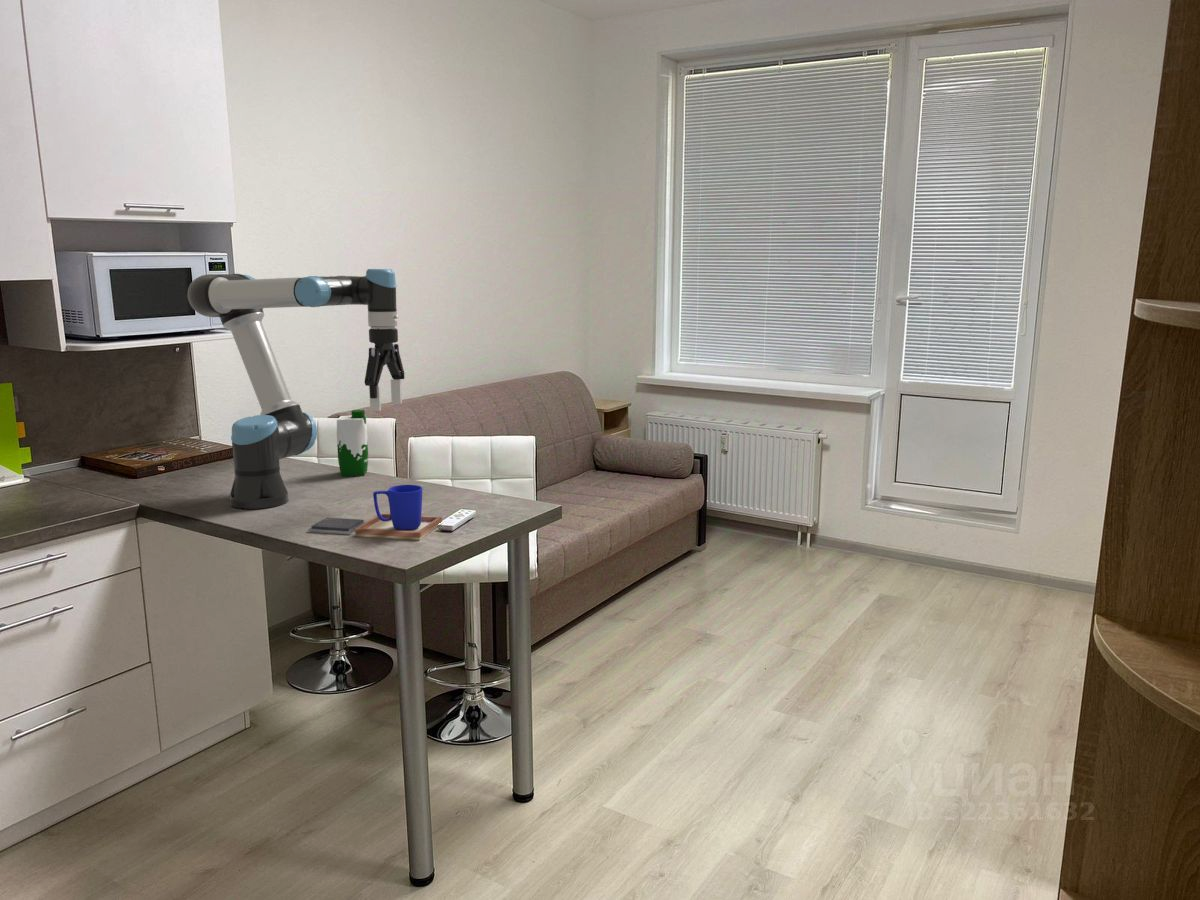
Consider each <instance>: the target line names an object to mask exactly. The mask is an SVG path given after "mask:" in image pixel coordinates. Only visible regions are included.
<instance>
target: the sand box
mask: <svg viewBox="0 0 1200 900" xmlns="http://www.w3.org/2000/svg"><path fill="white" fill-rule="evenodd" d="M380 514H381V516H382V517H383V518H386V519H389V518H390V513H382V512H380ZM364 522H365V523H364V524H362V525H360V526H359V527H357V528H356V529H355V532H354V537H363V538H365V537H366V538H380V539H392V540H393V539H395V540H396V539H397V540H409V541H410V540H411V541H412V540H413V541H421V540H422V539H424V538H425V537H426V536H427V535H429V534H430V533H432V532H433V531H435V530H436V529H437V528H438V527H439V526H438V524H439V523H441V522H442V523H443V517H442V516H436V515H435V516H434V515H421V524H420V526H419V527H418V528H416V529H413V530H398V529H396V528H394V526H393V524H392V520H390V521H382V520H380V519H379V518H378V516H377V515H376V516H374V517H372V518H371V519H368V520H367V521H364ZM437 526H438V527H437Z"/></svg>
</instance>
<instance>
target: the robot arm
mask: <svg viewBox="0 0 1200 900" xmlns="http://www.w3.org/2000/svg"><path fill="white" fill-rule="evenodd" d="M396 283H397V282H396V273H395V271H394V270H393V269H392V268H382V269H381V268H368V269H366V271H365V275H364V276H357V275H355V276H354V275H336V276H318V275H315V276H314V275H313V276H312V275H311V276H304V277H303V276H301V277H299V276H297V277H284V278H283V277H278V278H257V279H256V278H254V277H252V276H250V275H247V274H241V273H232V274H231V273H230V274H228V273H227V274H224V273H222V274H219V273H218V274H213V273H211V274H210V273H209V274H203V275H200V276H197V277H196V278H195V279H193V280H192V282H191V283H190V284H189V286H188V288H187V300H188V302H189V305H190V307H191V308H192V309H193V310H194V311H195V312H196V313H197V314H199V315H202V316H204V317H208V318H219V320H220V322H221V325H222V326H223V328H224V329H226V330H229V331H230V332H231V334H232V337H233V339H234V342H235V345H236V347H237V350H238V353H239V354H240V358H241V360H242V363H243V365H244V367H245V370H246V373H247V375H248V377H249V380H250V384H251V385H252V388H253V391H254V393H255V395H256V399H257V400H258V404H259V406H260V409H261V412H260V413H259V414H258V415H253V416H247V417H246V416H245V417H243V418H241V419H237V420H236V421H235V422H233V424H232V426H231V437H230V438H231V445H232V447H231V449H232V455H233V456H232V458H233V468H234V469H233V470H234V479H233V483H232V486H231V491H230V494H229V505H230V506H231V507H232V506H233V508H235V507H237V508H236V509H241V508H244V509H245V510H254V509H255V510H258V509H267V508H272V507H277V506H281V505H284V504H286V503H287V502H289V492H288V490H287V487H286V484H285V482H284V479H283V477H282V474H281V471H280V469H281V468H280V460H282V459H287V458H289V457H293V456H298V455H302V454H303V453H305V452H308V451H309V450H310V449H311V448H312V447H313V446H315V443H316V442H315V441H316V440H317V438H318V437H317V436H318V428H317V423H316V421H315V419H314V418H313V417H312V416H311V415H309V414H308V413H306V412H303V410H302V408H301V405H300V403H298V402H296V401H294V400H293V399H292V397H291V395H290V392H289V390H288V389H289V388H288V387H287V384H286V381H285V380H284V376H283V375H282V371H281V369H280V367H279V364H278V361H277V358H276V356H275V353H274V351H273V348H272V346H271V343H270V341H269V338H268V335H267V333H266V330H265V328H264V325H263V323H262V321H263V318H264V316H265V313H264V309H275V308H276V309H277V308H278V309H279V308H300V307H301V308H302V307H303V308H304V307H306V308H309V307H310V308H319V307H330V306H334V307H335V306H347V305H348V306H349V305H351V306H355V305H357V306H358V305H359V306H361V305H363V306H365V305H367V323H368V325H367V326H368V327H370V328H369V329H368V340H369V341H368V342H369V343H371V344H374V347H369V348H368V358H367V365H366V371H365V376H364V385H365V386H366V387H367V386H368V391H369V411H376V412H377V411H382V402H381V385H379V383H380V380H381V377H382V372H383V369H384V366H386V367H387V369H388V372H389V374H390V376H391V378H392V379H390V393H391V395H390V396H391V399H390V400H391V404H402V401H403V400H402V399H403V398H402V380H405V370H404V367H403V362H402V357H401V353H400V349H399V344H398V341H399V335H398V334H399V332H398V328H396V327H397V326H398V319H399V315H398V312H397V311H398V310H397V284H396Z"/></svg>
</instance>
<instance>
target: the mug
mask: <svg viewBox="0 0 1200 900" xmlns="http://www.w3.org/2000/svg"><path fill="white" fill-rule="evenodd" d="M372 493H373V494H372V496H373V504H374V509H375V513H376V516H378V518H379V519H380V520H382V521H390V520H392V524H393V526H394V528H396V529H398V530H413V529H416V528H418V527H419V526H420V524H421V516H422V509H423V486H421V485H417V484H400V485H394V486H391V487H389V488H388V490H376V491H373V492H372ZM377 495H386V497H387V499H388V504H389V505H388V506H389V514H390V518H389V519H386V518H383V517H382V516H381V514H380V513H381V512H380V509H379V504H378V503H379V502H378V496H377Z"/></svg>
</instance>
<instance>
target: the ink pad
mask: <svg viewBox="0 0 1200 900" xmlns="http://www.w3.org/2000/svg"><path fill="white" fill-rule="evenodd" d="M365 522H366V521H365V520H364V519H357V518H356V519H355V518H339V517H325V518H323V519H321V520H320V521H318V522H316V523H315V524H312V525H311V526H310V527H309V528H308V533H314V534H315V533H317V534H319V533H320V534H333V535H352V534H355V529H356V528H357V527H359V526H360V525H362V524H364V523H365Z"/></svg>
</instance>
